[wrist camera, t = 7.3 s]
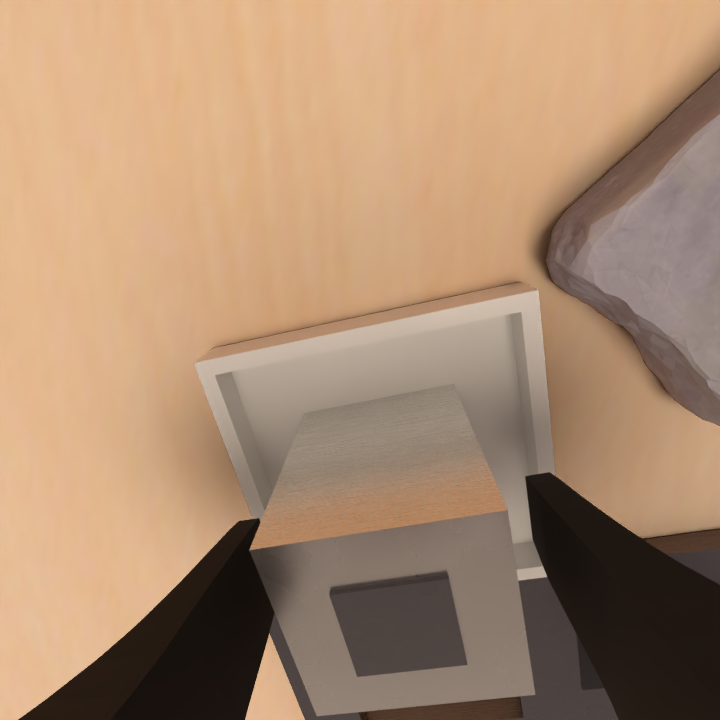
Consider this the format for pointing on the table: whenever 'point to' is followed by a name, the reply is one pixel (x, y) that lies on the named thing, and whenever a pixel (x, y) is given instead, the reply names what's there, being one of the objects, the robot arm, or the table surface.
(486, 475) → the cube with square inset
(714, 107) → the stone block
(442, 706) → the plate with square cutout
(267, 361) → the tray
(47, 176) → the table surface
